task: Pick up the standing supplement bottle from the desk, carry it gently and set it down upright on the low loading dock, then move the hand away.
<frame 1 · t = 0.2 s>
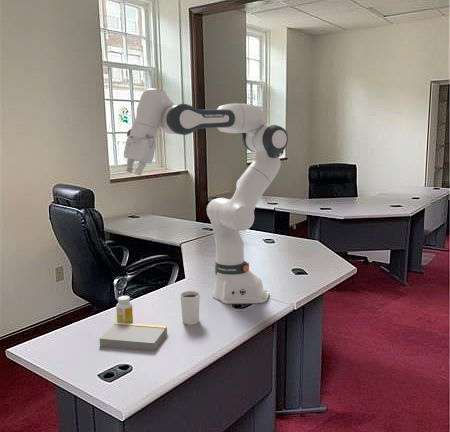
hand: (133, 173, 158), 52 cm above the table, tool tilted 20°, fingers open, 8 cm apart
supplement bottle: (125, 324, 161), on the table
loading dock: (134, 339, 148), on the table
white coffee cup: (190, 321, 162), on the table
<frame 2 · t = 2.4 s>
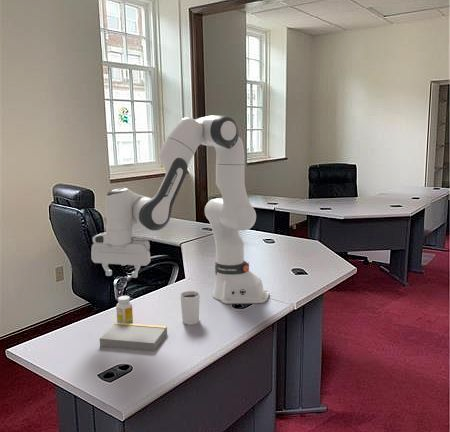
hand: (121, 276, 157), 17 cm above the table, tool pointing down, fingers open, 8 cm apart
nothing on the table moved.
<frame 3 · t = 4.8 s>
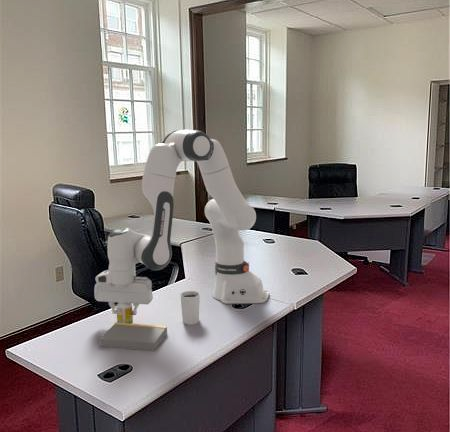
hand: (124, 313, 160), 4 cm above the table, tool pointing down, fingers closed on supplement bottle, 5 cm apart
supplement bottle: (125, 324, 161), on the table, touching gripper
everything else where it was.
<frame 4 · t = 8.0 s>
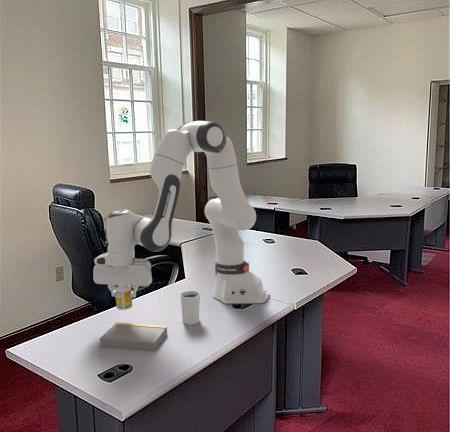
hand: (123, 296, 158), 10 cm above the table, tool pointing down, fingers closed on supplement bottle, 5 cm apart
supplement bottle: (124, 308, 159), point 6 cm above the table, touching gripper
everything else where it was.
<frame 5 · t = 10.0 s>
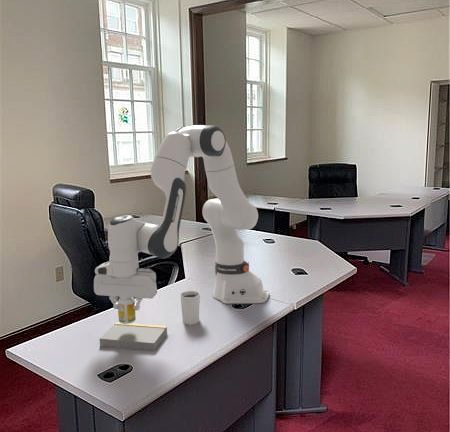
hand: (126, 308, 147), 10 cm above the table, tool pointing down, fingers closed on supplement bottle, 5 cm apart
supplement bottle: (127, 321, 148), point 6 cm above the table, touching gripper
everything else where it was.
when the fingers open (7 cm above the table, at t = 11.6 s): supplement bottle stays where it is, resting on loading dock.
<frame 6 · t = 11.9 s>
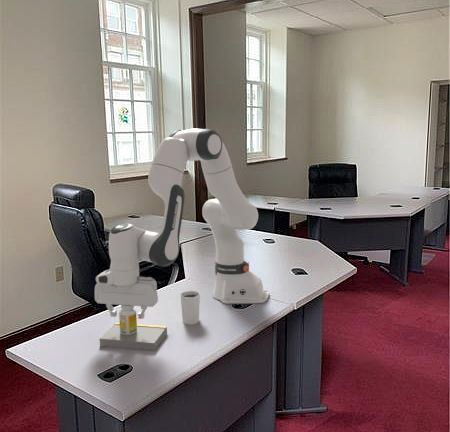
hand: (127, 317, 147), 8 cm above the table, tool pointing down, fingers open, 8 cm apart
supplement bottle: (128, 332, 148), point 2 cm above the table, touching loading dock
everything else where it was.
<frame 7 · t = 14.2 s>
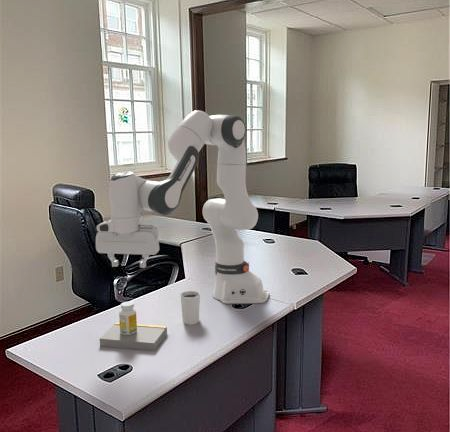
hand: (129, 266, 147), 24 cm above the table, tool pointing down, fingers open, 8 cm apart
nothing on the table moved.
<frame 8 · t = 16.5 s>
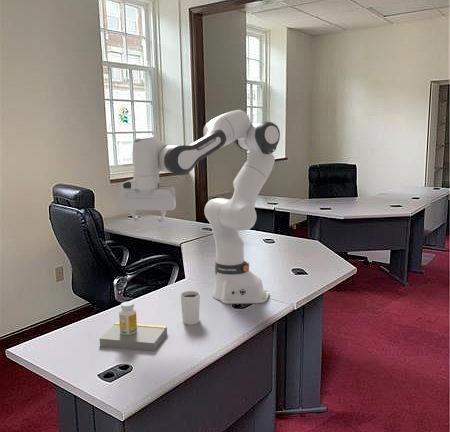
hand: (148, 222, 163), 34 cm above the table, tool pointing down, fingers open, 8 cm apart
nothing on the table moved.
at the end: supplement bottle inside the target area (1.4 cm from its centre), point 2.3 cm above the table; supplement bottle tilted 0°; the gripper is holding nothing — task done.
